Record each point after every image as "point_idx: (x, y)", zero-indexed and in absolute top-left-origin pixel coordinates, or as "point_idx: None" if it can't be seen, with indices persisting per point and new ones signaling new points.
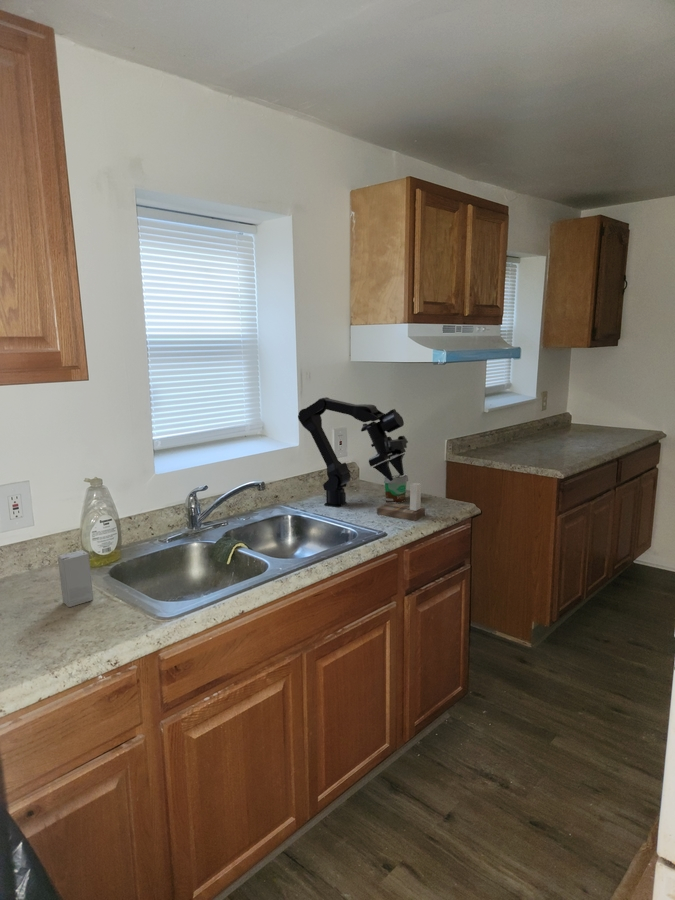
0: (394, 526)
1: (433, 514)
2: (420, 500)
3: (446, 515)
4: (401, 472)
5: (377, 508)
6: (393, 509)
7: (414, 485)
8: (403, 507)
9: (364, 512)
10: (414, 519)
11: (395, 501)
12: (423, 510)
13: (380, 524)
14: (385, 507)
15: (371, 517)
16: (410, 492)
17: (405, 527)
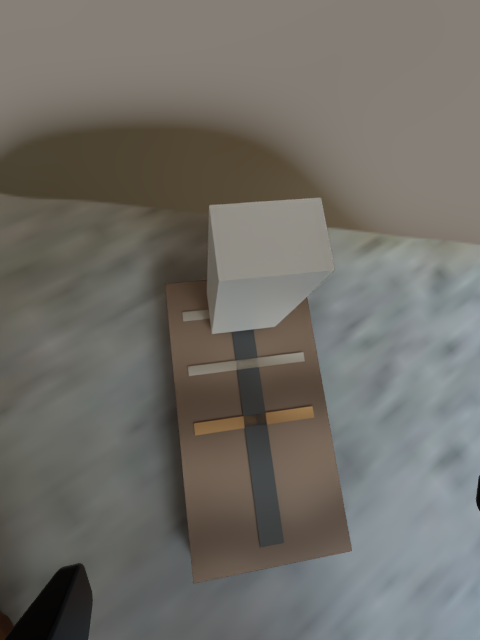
0: (428, 321)
1: (128, 266)
2: (207, 273)
3: (105, 204)
4: (69, 634)
5: (349, 545)
6: (311, 431)
7: (325, 221)
8: (231, 405)
9: (347, 636)
10: None
11: (7, 629)
12: (190, 283)
13: (453, 396)
14: (307, 506)
15: (396, 520)
16: (307, 292)
17: (404, 271)
